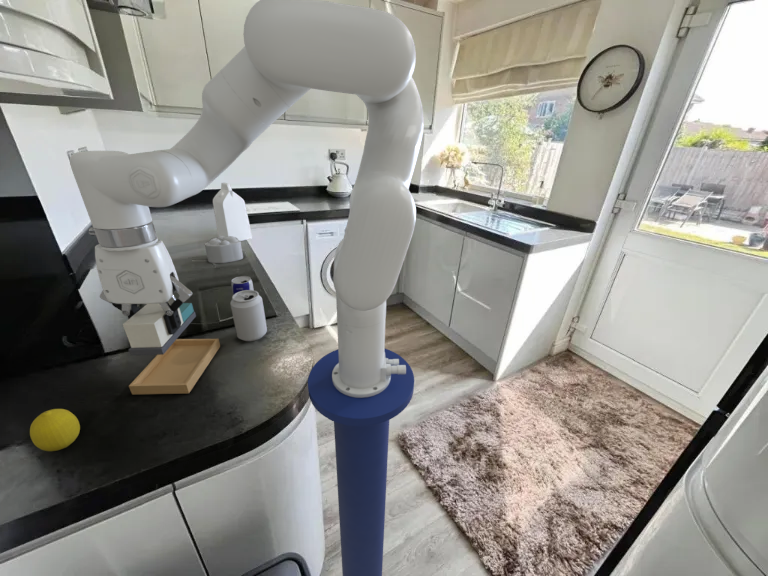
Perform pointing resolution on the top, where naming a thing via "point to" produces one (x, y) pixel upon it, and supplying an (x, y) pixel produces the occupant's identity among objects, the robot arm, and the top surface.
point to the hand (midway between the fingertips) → (158, 329)
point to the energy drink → (241, 284)
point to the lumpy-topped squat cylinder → (223, 249)
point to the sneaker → (154, 329)
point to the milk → (231, 214)
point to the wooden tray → (176, 367)
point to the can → (248, 315)
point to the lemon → (54, 429)
